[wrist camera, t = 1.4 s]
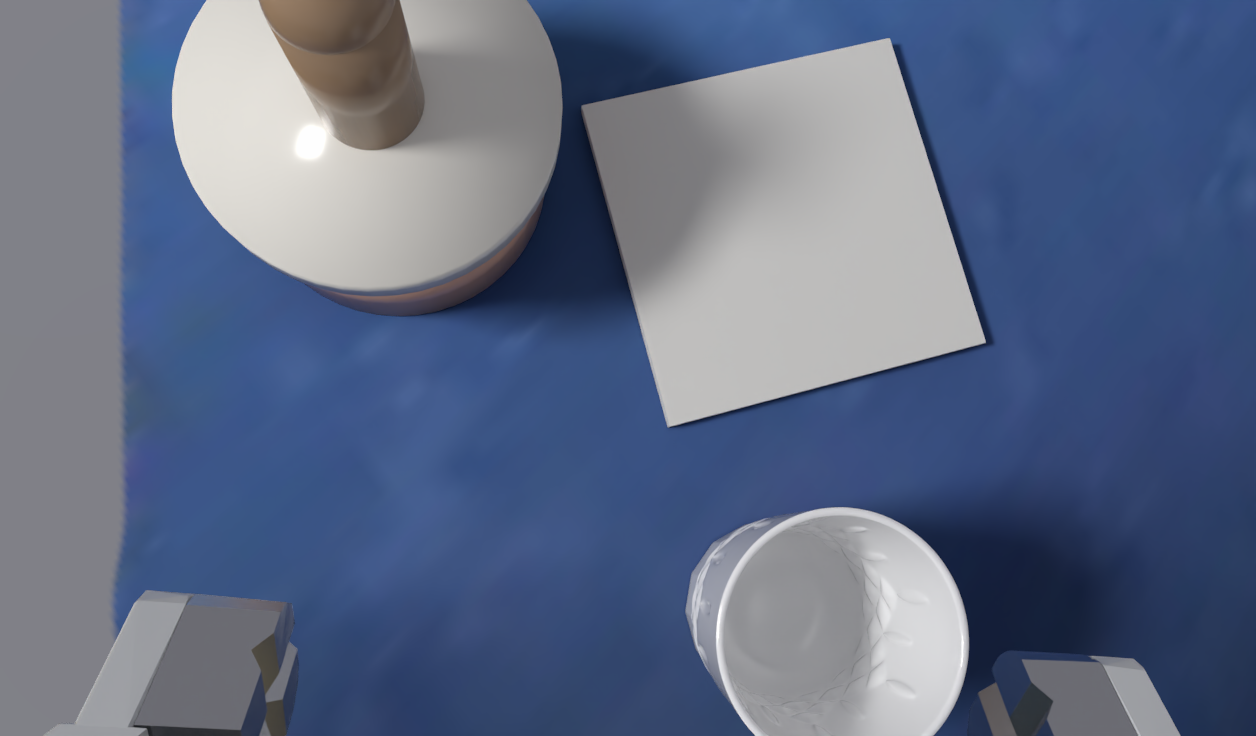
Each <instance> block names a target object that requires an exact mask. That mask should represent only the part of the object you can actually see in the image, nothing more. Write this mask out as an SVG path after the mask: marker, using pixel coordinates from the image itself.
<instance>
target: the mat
mask: <svg viewBox="0 0 1256 736" xmlns="http://www.w3.org/2000/svg"><path fill="white" fill-rule="evenodd" d="M581 113H582V117H583V121H584V124H585V128H586V132H587V135H588V139H589V142H590V146H591V150H592V153H593V157H594V161H595V164H596V168H597V172H598V175H599V179H600V182H601V186H602V190H603V193H604V197H605V201H606V204H607V208H608V212H609V215H610V219H611V223H612V226H613V230H614V233H615V237H616V241H617V244H618V248H619V252H620V255H621V259H622V263H623V266H624V270H625V274H626V277H627V281H628V284H629V288H630V292H631V295H632V299H633V303H634V306H635V310H636V314H637V317H638V321H639V325H640V328H641V332H642V335H643V339H644V343H645V346H646V350H647V354H648V357H649V361H650V365H651V368H652V372H653V375H654V379H655V383H656V386H657V390H658V394H659V397H660V401H661V405H662V408H663V412H664V416H665V419H666V423H667V426H668V427H672V426H676V425H680V424H684V423H687V422H691V421H695V420H699V419H702V418H706V417H710V416H714V415H717V414H721V413H725V412H729V411H733V410H736V409H740V408H744V407H748V406H751V405H755V404H759V403H763V402H766V401H770V400H774V399H778V398H781V397H785V396H789V395H793V394H797V393H800V392H804V391H808V390H812V389H815V388H819V387H823V386H827V385H830V384H834V383H838V382H842V381H846V380H849V379H853V378H857V377H861V376H864V375H868V374H872V373H876V372H879V371H883V370H887V369H891V368H894V367H898V366H902V365H906V364H910V363H913V362H917V361H921V360H925V359H928V358H932V357H936V356H940V355H943V354H947V353H951V352H955V351H959V350H962V349H966V348H970V347H974V346H977V345H981V344H983V343H986V341H985V337H984V334H983V331H982V328H981V325H980V322H979V318H978V315H977V312H976V309H975V306H974V303H973V300H972V296H971V293H970V290H969V287H968V284H967V281H966V277H965V274H964V271H963V268H962V265H961V262H960V258H959V255H958V252H957V249H956V246H955V243H954V240H953V236H952V233H951V230H950V227H949V224H948V221H947V217H946V214H945V211H944V208H943V205H942V202H941V198H940V195H939V192H938V189H937V186H936V183H935V179H934V176H933V173H932V170H931V167H930V164H929V161H928V157H927V154H926V151H925V148H924V145H923V142H922V138H921V135H920V132H919V129H918V126H917V123H916V119H915V116H914V113H913V110H912V107H911V104H910V101H909V97H908V94H907V91H906V88H905V85H904V82H903V78H902V75H901V72H900V69H899V66H898V63H897V59H896V56H895V53H894V50H893V47H892V44H891V41H890V38H887V39H883V40H878V41H874V42H869V43H865V44H860V45H855V46H851V47H846V48H842V49H837V50H833V51H828V52H823V53H819V54H814V55H810V56H805V57H801V58H796V59H791V60H787V61H782V62H778V63H773V64H769V65H764V66H759V67H755V68H750V69H746V70H741V71H737V72H732V73H728V74H723V75H718V76H714V77H709V78H705V79H700V80H696V81H691V82H686V83H682V84H677V85H673V86H668V87H664V88H659V89H654V90H650V91H645V92H641V93H636V94H632V95H627V96H622V97H618V98H613V99H609V100H604V101H600V102H595V103H591V104H586V105H582V106H581Z"/></svg>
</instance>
